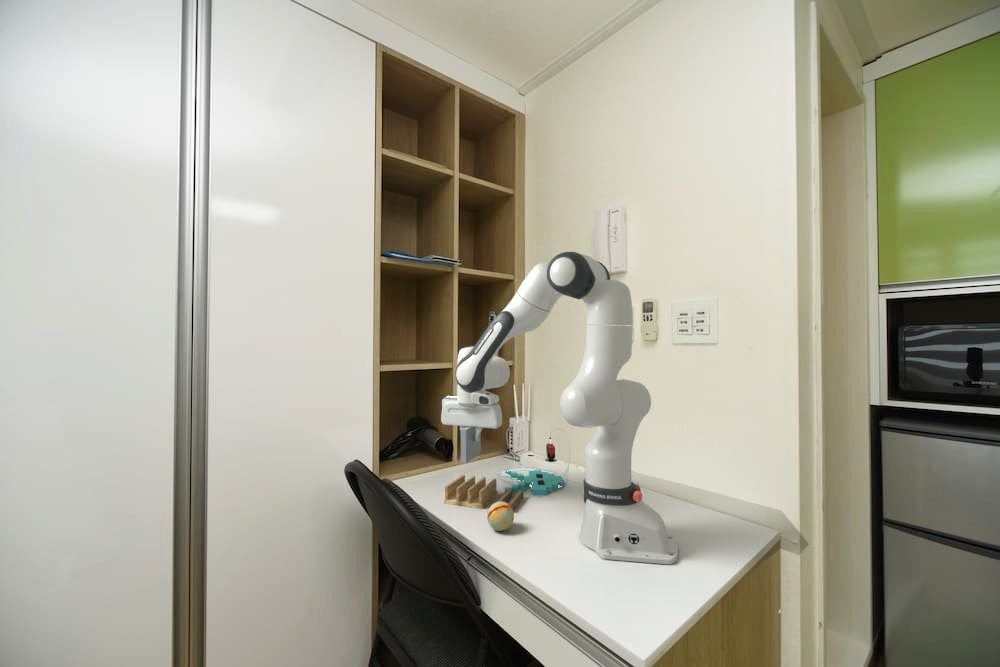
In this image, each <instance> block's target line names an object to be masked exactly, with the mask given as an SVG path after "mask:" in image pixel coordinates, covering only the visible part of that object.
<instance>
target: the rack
mask: <svg viewBox="0 0 1000 667" xmlns="http://www.w3.org/2000/svg"><path fill="white" fill-rule="evenodd" d="M486 479H487V478H486V477H485V476H484V477H483V476H482V477H481V479H479V480H478V481H477V482H476V476H475V475H472V476H471V477H470V478H468V479H467V480H466V475H465V474H462V475H460V476H459V477H457V478H456V479H455V480H453V481H451V482H449V483H448V484H447V485H445V486H444V499H443V503H444V504H446V505H454V506H460V507H467V508H474V509H478V510H479V509H480V510H484V509H485V508H486V507H487V505H489V504H490V503H491V502H492V501H493V500H494V499H495V498H496V497H497V496H498V494H499V493H498V492H499V491H497V486H498V485H497V478H493V479H492V480H491V481H489V482H488V483H486V482H487V480H486Z"/></svg>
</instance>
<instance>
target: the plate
mask: <svg viewBox="0 0 1000 667" xmlns="http://www.w3.org/2000/svg"><path fill="white" fill-rule="evenodd" d="M476 432H477V431H476V429H475V427H468V426H467V427H465V428H463V429H461V430H460V463H461V464H467V463H469V462H471V461H472V460H473V459H474V458H476V457H477V456H479V455H480V454H482V447H481V446H482V445H481V444H482V441H481V439H482V438H481V436H482V434H481V433H480V434H479V441H473V440H472V439H473V438H472V436H473V435H475V434H476Z"/></svg>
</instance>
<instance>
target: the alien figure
mask: <svg viewBox="0 0 1000 667" xmlns="http://www.w3.org/2000/svg"><path fill="white" fill-rule="evenodd" d="M509 470H510V469H508V470H507V469H506V470H504V474H505V473H507V474H509V475H511V477H510V478H518V479H517V481H518V480H524V481H523V482H517V484H512V485H511V487H509V486H508V487H504V494H505V493H506V492H507V491H508V490H509V489H510V488H511V489H513V494H517V493H518V492H519V491H520V490H524V491H526V489H527V488H526V487H529V485H530V484H531V485H532V489H531V493H532V496H547V494H553V491H559V488H558V485H560V486H562V487H564V488H565V481H564V479H563V477H561V476H562V475H556V474H554V473H548V471H542V469H533V470H534V471H529V470H528V475H524V473H518V471H512V470H511V471H509ZM507 471H508V472H507ZM529 475H530V476H529ZM532 482H533V484H532Z"/></svg>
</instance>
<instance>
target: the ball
mask: <svg viewBox="0 0 1000 667" xmlns="http://www.w3.org/2000/svg"><path fill="white" fill-rule="evenodd" d="M508 503H509V502H508ZM508 503H506V502H503V501H499V502H497V501H496V502H493V503H492V504H491V506H490V507H489V509H488V511H487V517H486V518H487V522H488V524H489V526H490V527H491V528H492V529H493V530H494V531H499V532H504V531H506V530H508V529H509V528H510V527H512V524H513V523H514V520H515V514H514V513H515V512H514V511H513V509H512V507H511V506H510V505H509V504H508Z"/></svg>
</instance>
